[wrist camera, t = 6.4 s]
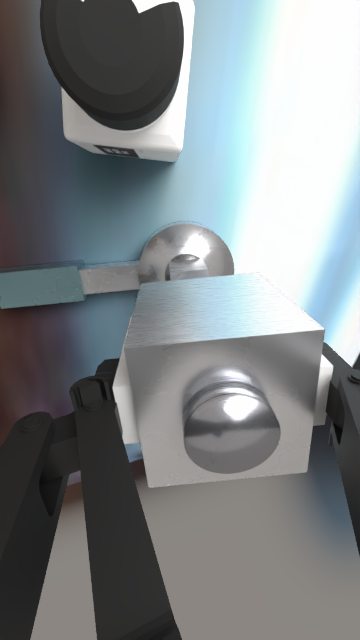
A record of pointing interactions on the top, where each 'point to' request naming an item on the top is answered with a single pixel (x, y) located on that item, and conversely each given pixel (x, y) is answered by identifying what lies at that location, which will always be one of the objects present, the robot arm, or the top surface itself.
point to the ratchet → (120, 269)
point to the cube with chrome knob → (222, 379)
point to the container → (121, 73)
